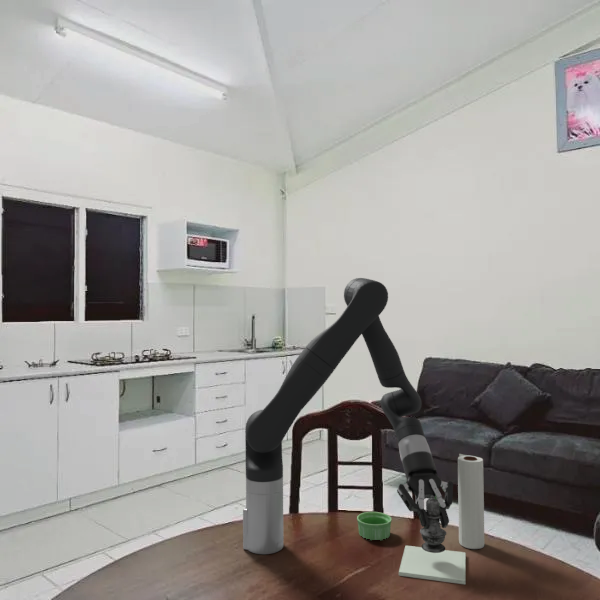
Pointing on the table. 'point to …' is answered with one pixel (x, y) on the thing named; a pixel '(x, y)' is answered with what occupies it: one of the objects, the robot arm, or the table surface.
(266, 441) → the robot arm
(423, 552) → the sage tile
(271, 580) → the table surface
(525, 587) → the table surface
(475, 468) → the paper towel roll
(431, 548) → the salt shaker
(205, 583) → the table surface
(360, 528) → the ramekin
